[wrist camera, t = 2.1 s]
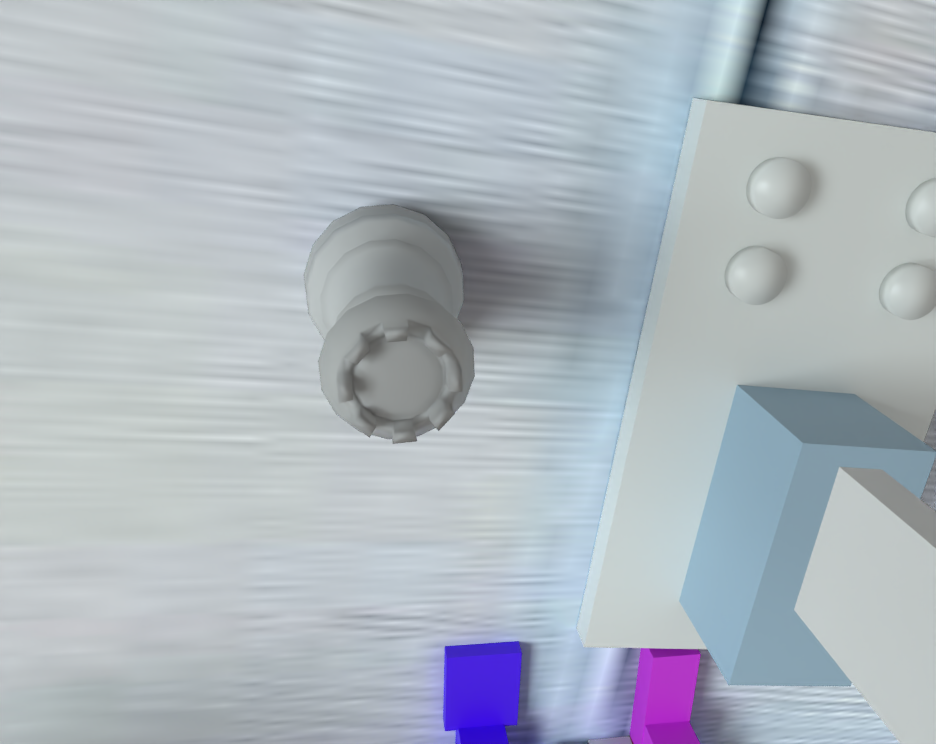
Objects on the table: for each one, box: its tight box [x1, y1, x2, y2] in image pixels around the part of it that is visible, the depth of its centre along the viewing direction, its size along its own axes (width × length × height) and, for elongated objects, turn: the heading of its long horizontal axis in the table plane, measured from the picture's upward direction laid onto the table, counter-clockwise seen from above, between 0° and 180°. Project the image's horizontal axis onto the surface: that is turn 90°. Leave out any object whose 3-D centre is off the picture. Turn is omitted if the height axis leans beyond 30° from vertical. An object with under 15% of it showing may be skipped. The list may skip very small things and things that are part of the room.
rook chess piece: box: [304, 205, 475, 444], centre depth 20 cm, size 4×4×8 cm
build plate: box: [577, 98, 936, 649], centre depth 26 cm, size 18×10×2 cm, turn 172°
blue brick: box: [679, 385, 936, 686], centre depth 25 cm, size 8×4×4 cm, turn 172°
